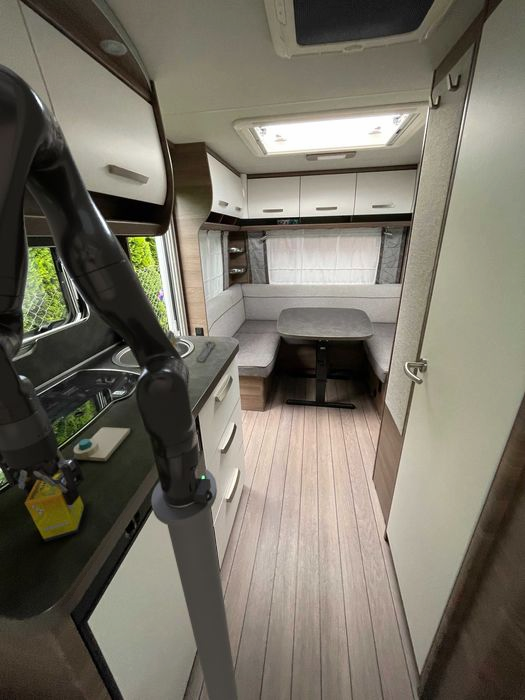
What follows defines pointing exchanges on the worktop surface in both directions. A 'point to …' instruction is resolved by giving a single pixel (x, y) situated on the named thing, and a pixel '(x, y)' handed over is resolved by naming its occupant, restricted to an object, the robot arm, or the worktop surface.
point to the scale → (102, 444)
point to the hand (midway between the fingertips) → (54, 499)
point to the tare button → (84, 444)
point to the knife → (206, 352)
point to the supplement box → (53, 510)
